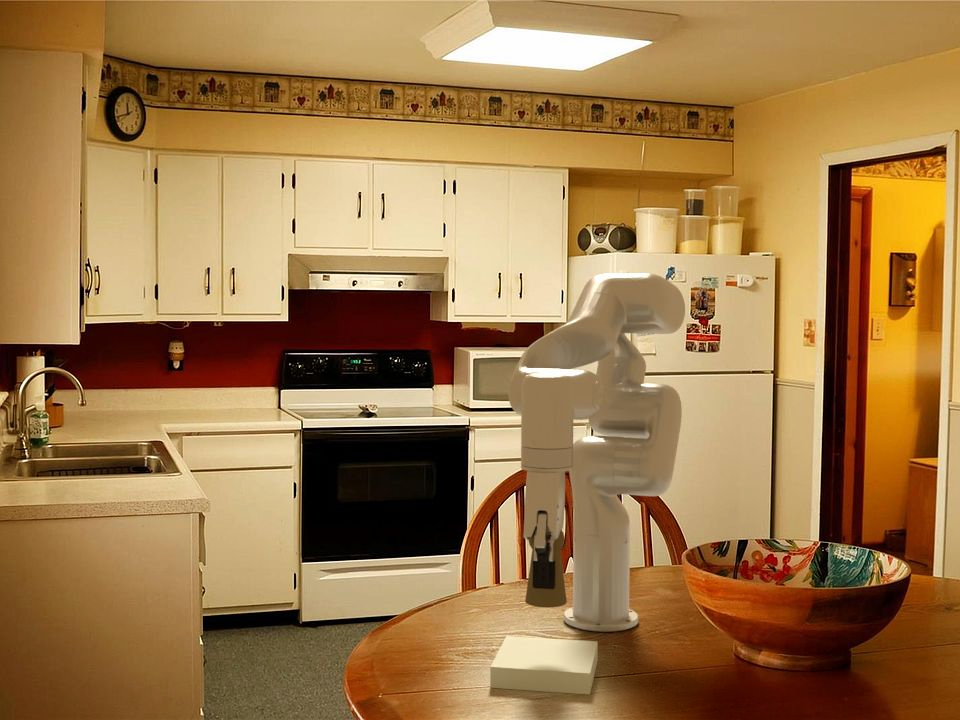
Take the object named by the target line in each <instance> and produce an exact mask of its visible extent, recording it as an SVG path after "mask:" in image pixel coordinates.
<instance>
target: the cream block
mask: <svg viewBox="0 0 960 720" xmlns="http://www.w3.org/2000/svg"><path fill="white" fill-rule="evenodd" d="M598 645H599V642H598V641H596V640H578V639H563V638H545V637H531V636H530V637H529V636H528V637H527V636H515V635H514V636H513V635H512V636H511V635H506V636H505V638H504V640H503V642H502V644H501V646H500V647H499V649H498V651H497V653H496V655H495V657H494V659H493V661H492V663H491V665H490V666H489V667H490V668H489V669H490V674H489V675H490V676H489V677H490V678H489V679H490V681H489V683H490V684H489V686H490V688H491V689H505V690H517V691H519V690H520V691H533V692H544V693H546V692H547V693H562V694H563V693H564V694H576V695H591V691H592V686H593V683H594V678H595V673H596V669H597V665H598V660H599V657H598V655H599V654H598V650H599V648H598V647H599V646H598Z"/></svg>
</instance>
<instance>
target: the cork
mask: <svg viewBox="0 0 960 720" xmlns="http://www.w3.org/2000/svg"><path fill="white" fill-rule="evenodd" d="M534 532H535V529H534ZM550 534H551V531H550ZM546 539H551V535H546ZM528 544H529V546H530V548H531V558H530V564H529V572H528V579H527V587H526V594H525V600H524V602H525V604H527V605H529V606H532V607H537V608H558V607H563V606H564V605H566V604H567V602H568V601H567V592H566V586H565V577H564V571H563V570H564V567H563V560H562V553H561V552H562V551H561V549H562V548H563V547H564V544H565V534H564V532H563V529H562V530H561V531H560V535H559V537H558V538H557V539H556V540H555V541H554V559H553V561H556V562H555V588H554V589H540V588H534V587H533V560H534V534H533V535H532V537H530V538H529V540H528ZM546 545H548V546H549V544H547V543H546Z"/></svg>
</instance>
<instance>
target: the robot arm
mask: <svg viewBox="0 0 960 720" xmlns="http://www.w3.org/2000/svg"><path fill="white" fill-rule="evenodd" d="M575 303H576V304H575V306H574V308H573V310H572V312H571V315H570V317H569V319H568V321H567V322H566V323H565V324H563V325H561V326H560V327H557V328H556V329H553V330H552V331H550V332H549V333H547V334H546V335H544V336H542V337H540V338H538V339H537V340H536V341H534V342H532V344H530V345H529V346H528V347H527V348H526V349H525V351H524V352H523V353H522V355H521V357H520V359H519V361H518V362H517V364H516V367H515V368H514V371H513V374H512V375H511V379H510V382H509V386H508V401H509V406H510V407H511V409H512V410H513V411H514V412H515V413H516V414H517V415H519V416H521V419H520V420H521V422H520V426H521V427H520V429H521V430H520V432H521V434H520V435H521V436H520V437H521V438H520V441H521V442H520V443H521V444H520V445H521V446H520V469H521V470H523V471H525V472H526V479H525V480H526V481H525V491H524V518H523V519H524V520H523V538H524V539H525V540H526V541H529V538H530V537H532V535H533V534H534V560H533V587H534V588H540V589H554V588H555V562H556V561H553V559H554V541H555V540H556V539H557V538H558V537H559V535H560V531H561V530H562V531H563V529H564V522H565V521H564V520H565V508H566V507H565V505H566V504H565V502H566V472H569V473H568V474H569V479H570V480H569V481H570V485H571V492H572V506H573V509H572V510H573V512H572V513H573V514H572V515H573V519H572V520H573V521H572V524H573V525H572V527H573V530H572V531H573V534H572V535H573V536H572V537H573V543H572V544H573V545H572V548H573V552H572V554H573V556H572V557H573V558H572V561H573V563H572V568H573V569H572V570H573V571H572V607H570V608H567V609H566V610H565V611H564V612H563V621H564V622H565V623H566V624H567V625H568V626H569V627H573V628H576V629H580V630H584V631H591V632H606V633H607V632H621V631H626V630H628V629H632V628H634V627H636V626H637V625H638V624H639V614H638V613H636V611H634V610H633V609H630V568H631V567H630V562H631V561H630V559H631V558H630V555H631V553H630V552H631V551H630V550H631V549H630V547H631V545H630V543H631V521H630V516H629V514H628V511H627V509H626V507H625V506H624V504H623V503H622V501H621V500H620V498H619V497H618V495H629V496H640V497H658V496H662V495H664V494H665V493H666V492H667V491H668V490H669V488H670V486H671V484H672V481H673V475H674V471H675V470H674V469H675V464H676V459H677V457H676V456H677V452H678V446H679V445H678V444H679V438H680V432H681V427H682V426H681V425H682V417H683V416H682V415H683V413H682V412H683V411H682V400H681V397H680V395H679V392H677V391H678V390H676V388H674V387H673V386H671V385H669V384H665V383H657V382H656V383H655V382H653V383H652V382H651V383H650V382H645V377H646V370H647V365H646V360H645V358H644V356H643V355H642V353H641V352H640V350H639V349H638V347H636V346H635V344H634V343H633V342H632V341H631V340H630V339H629V338H628V337H627V336H626V334H643V335H644V334H645V335H647V334H648V335H649V334H651V335H652V334H654V335H669V334H673V333H676V332H678V331H679V329H680V328H681V327H682V325H683V323H684V321H685V317H686V315H685V314H686V304H685V298H684V296H683V293H682V292H681V291H680V289H679V288H678V286H676V285H675V284H674V283H673V282H671V281H669V280H668V279H666V278H664V277H662V276H661V275H658V274H654V273H648V272H647V273H645V272H644V273H641V272H640V273H639V272H638V273H603V274H602V273H601V274H598V275H595V276H593V277H592V278H590V279H589V280H588V281H587V282H586V283H585V285H584V287H583V288H582V290H581V293H580V295H579V297H578V300H577V301H576V302H575ZM596 362H597V368H596V373H594V372H592V371H589V370H586V369H576V368H580V367H584V366H587V365H590V364H592V363H596ZM574 420H576V421H577V420H579V421H581V420H588V423H589V427H590V428H591V430H592V431H594V432H595V433H597V434H599V435H590V436H584V437H581V438H579V439H577V440H576V441H575V442H574ZM534 529H535V532H534ZM550 531H551V534H550ZM546 535H551V539H546ZM546 543H547V544H549V546H548V545H546Z"/></svg>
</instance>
